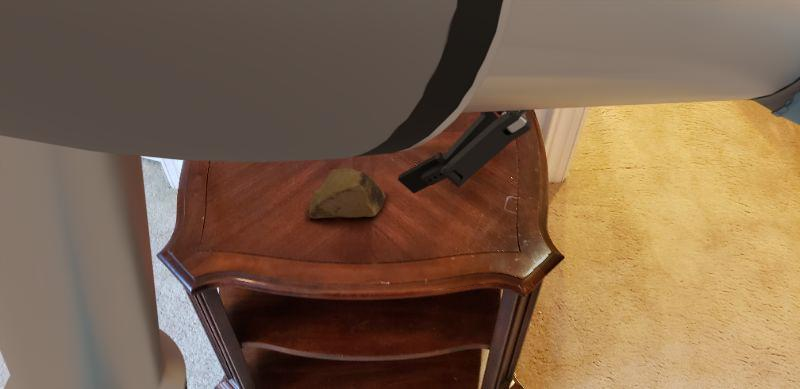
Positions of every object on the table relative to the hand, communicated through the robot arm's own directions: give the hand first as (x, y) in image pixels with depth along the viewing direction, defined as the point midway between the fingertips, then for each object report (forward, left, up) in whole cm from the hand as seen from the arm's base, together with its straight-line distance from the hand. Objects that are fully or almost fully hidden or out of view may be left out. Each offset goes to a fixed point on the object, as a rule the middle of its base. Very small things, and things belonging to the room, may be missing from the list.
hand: (418, 145), depth 68 cm
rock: (-5, +9, -15) cm, 18 cm away
